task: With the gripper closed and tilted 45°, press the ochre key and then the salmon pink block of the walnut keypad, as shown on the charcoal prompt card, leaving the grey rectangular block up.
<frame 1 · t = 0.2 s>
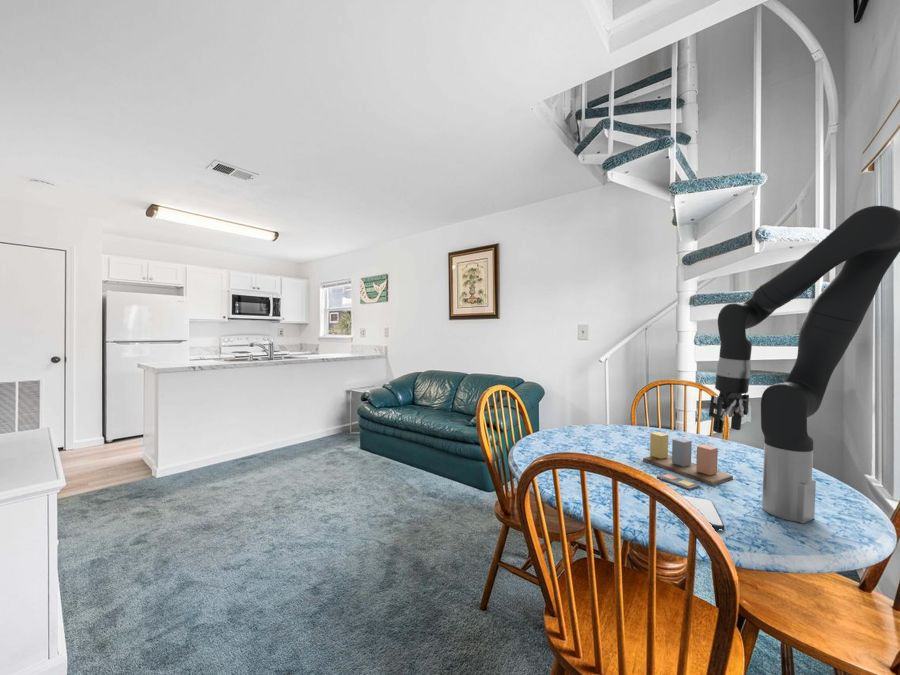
hand: (726, 430, 108), 18 cm above the table, tool pointing down, fingers open, 8 cm apart
phone case: (697, 515, 96), on the table
medication box: (787, 481, 117), on the table
grey rectangular block: (681, 451, 127), point 5 cm above the table, slide at 0.0 cm
keypad base: (685, 469, 126), on the table
ochre key: (659, 445, 134), point 5 cm above the table, slide at 0.0 cm
salmon pink block: (706, 459, 120), point 5 cm above the table, slide at 0.0 cm
prompt card: (677, 482, 115), on the table
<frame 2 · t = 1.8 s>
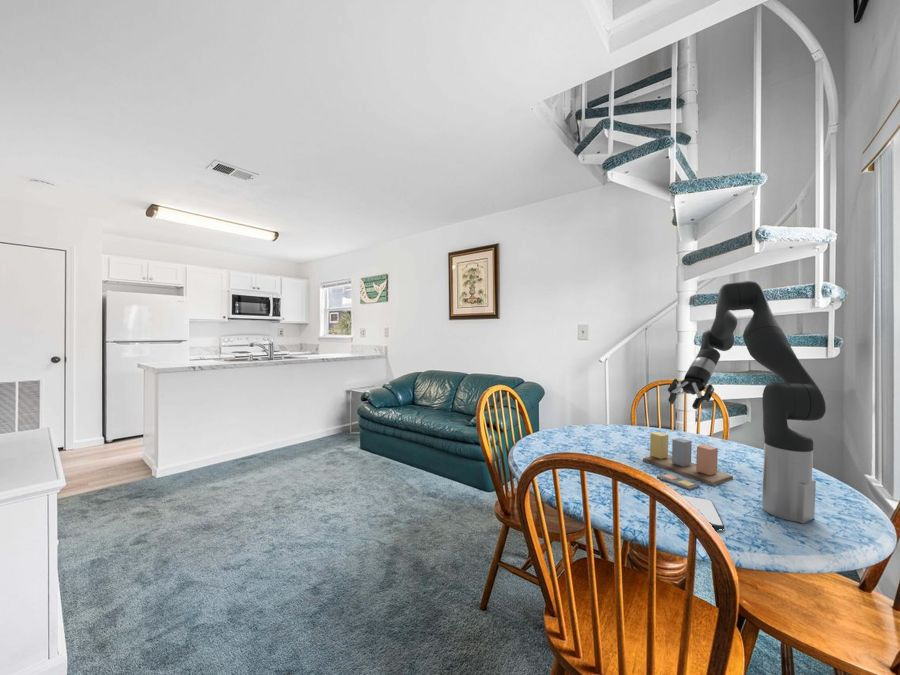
hand: (682, 405, 140), 18 cm above the table, tool tilted 45°, fingers open, 8 cm apart
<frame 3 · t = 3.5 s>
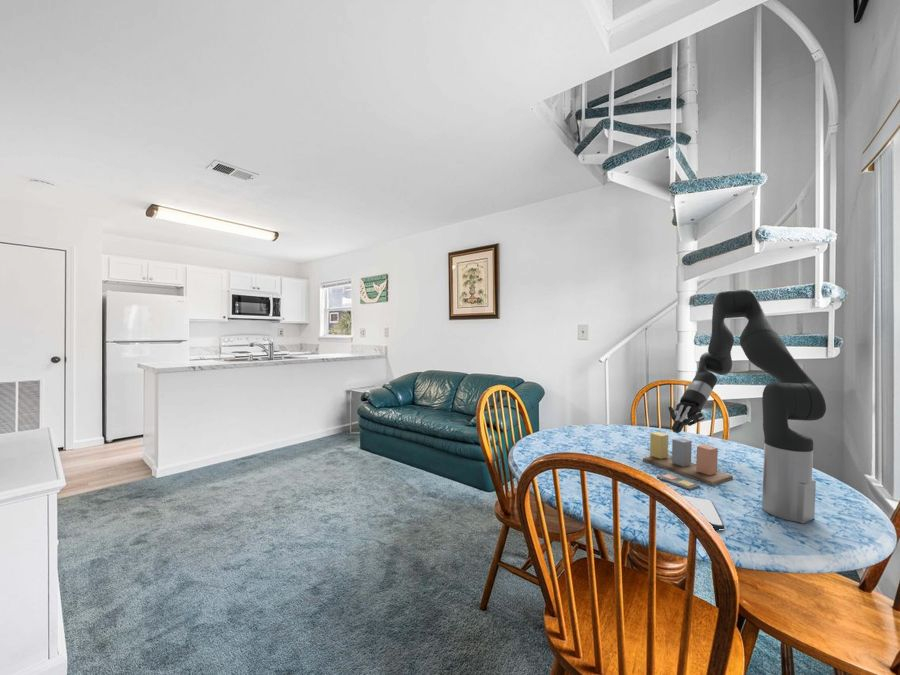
hand: (674, 431, 138), 9 cm above the table, tool tilted 45°, fingers closed
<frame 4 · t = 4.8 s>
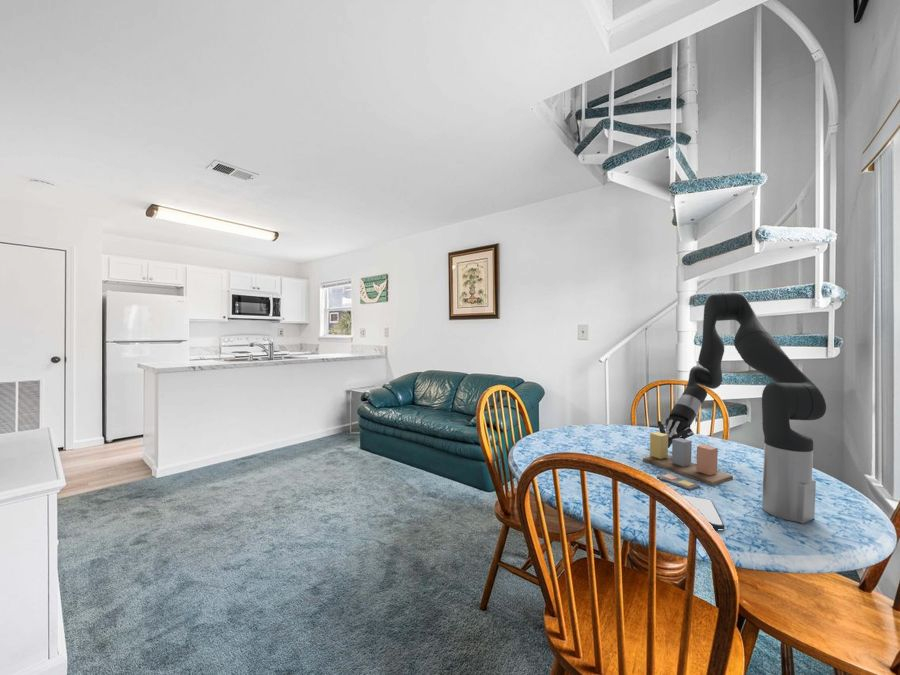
hand: (663, 447, 135), 4 cm above the table, tool tilted 45°, fingers closed
ochre key: (658, 445, 134), point 5 cm above the table, slide at 0.1 cm, touching gripper
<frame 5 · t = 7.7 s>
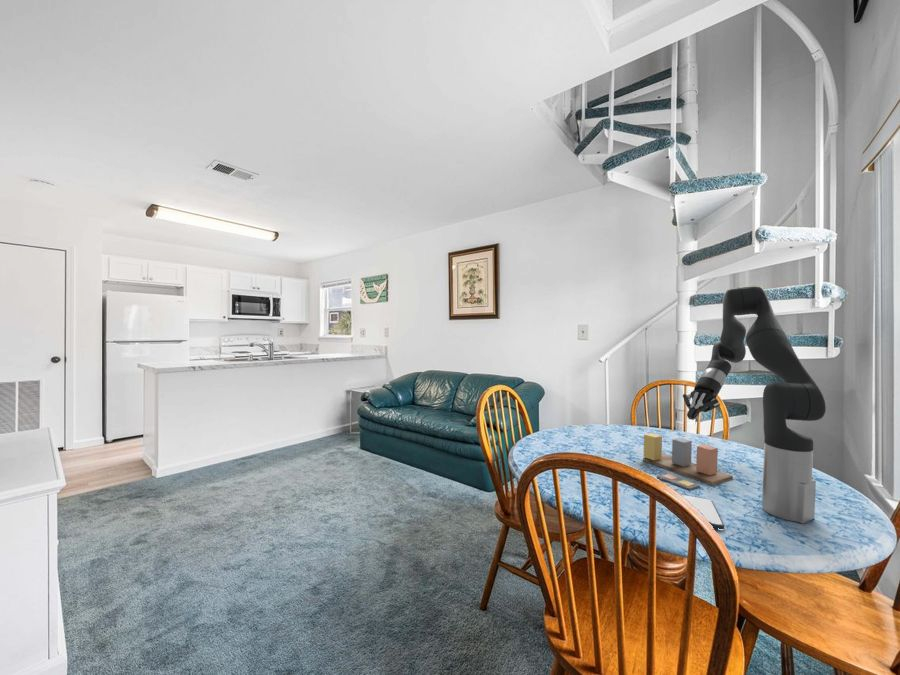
hand: (690, 418, 138), 14 cm above the table, tool tilted 45°, fingers closed
ochre key: (652, 446, 133), point 5 cm above the table, slide at 3.5 cm
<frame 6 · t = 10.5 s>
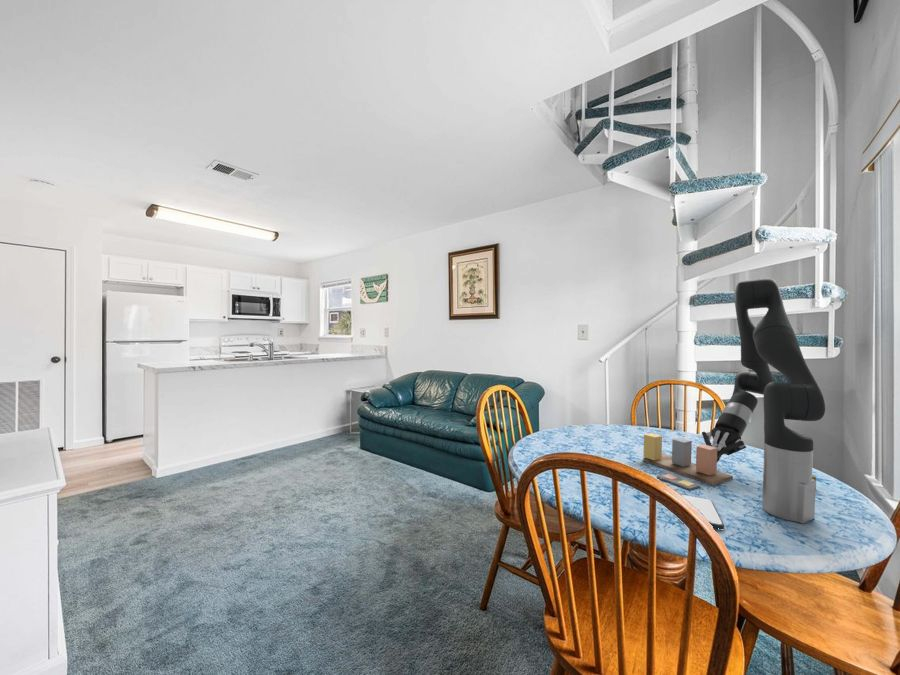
hand: (711, 461, 121), 4 cm above the table, tool tilted 45°, fingers closed
salmon pink block: (706, 459, 120), point 5 cm above the table, slide at 0.2 cm, touching gripper
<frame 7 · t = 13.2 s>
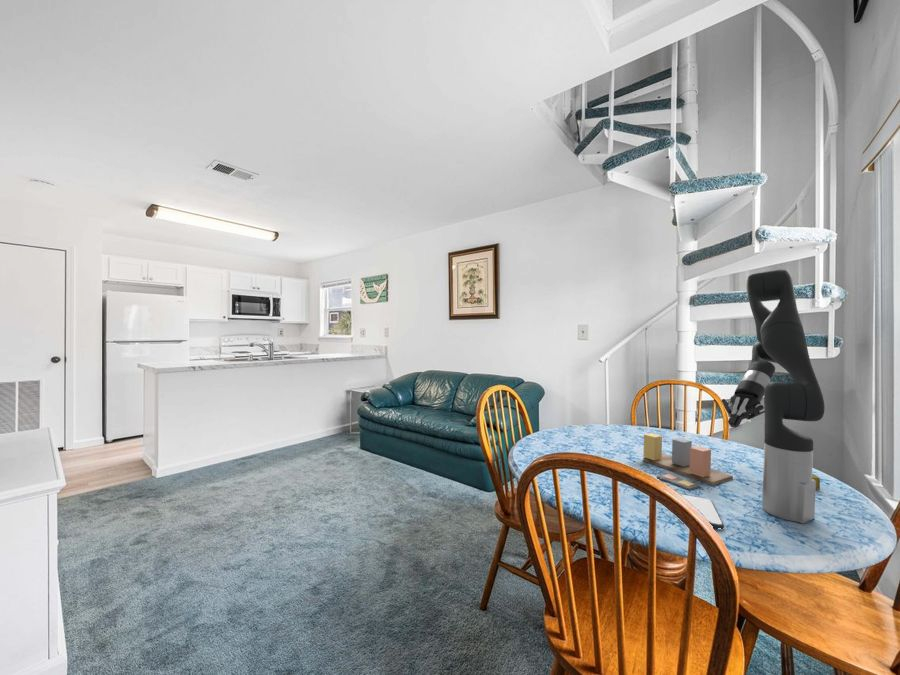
hand: (732, 425, 126), 14 cm above the table, tool tilted 45°, fingers closed
salmon pink block: (700, 461, 118), point 5 cm above the table, slide at 3.5 cm
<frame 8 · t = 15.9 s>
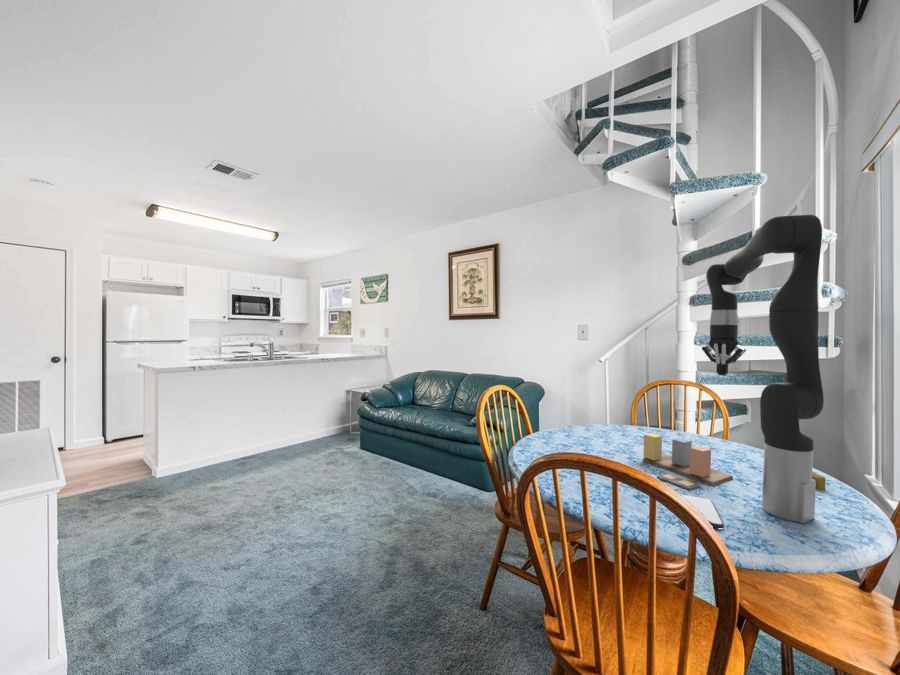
hand: (722, 375, 128), 31 cm above the table, tool pointing down, fingers closed
at the end: ochre key slide at 3.5 cm; salmon pink block slide at 3.5 cm; grey rectangular block slide at 0.0 cm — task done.
